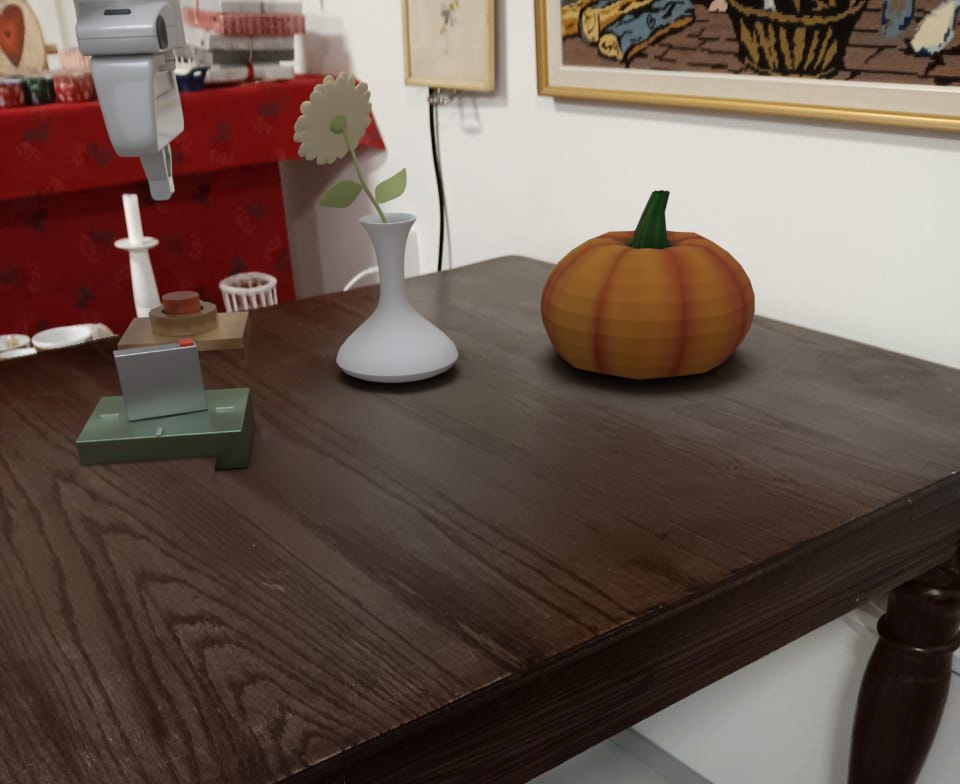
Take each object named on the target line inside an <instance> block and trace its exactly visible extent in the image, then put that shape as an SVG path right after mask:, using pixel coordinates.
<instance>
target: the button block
mask: <svg viewBox="0 0 960 784" xmlns="http://www.w3.org/2000/svg"><path fill="white" fill-rule="evenodd" d="M200 305H201V311H199V312H196V313H190V314H183V315H169V314H165V312H164V307H163V304H160V305H158V306H155V307H153V308H151V309H149V310H150V311H149V312H148V316H142V317H141V316H140V317H133V319H132V320H131V322H130V323H129V325H128V327H127V328H126V330H125V331H124V333H123V335H122V336H121V338H120V339H119V342H118V343H117V345H116V346H117V350H124V349H131V348H139V347H147V346H155V345H163V344H171V343H178V340H180V339H188V338H191V339H192V341H194V342H195V344H196V346H197V350H198V352H205V351H222V350H223V351H224V350H238V349H240V350H241V349H242V352H241V356H240V360H246V358H247V355H248V351H249V346H250V341H251V336H252V332H253V330H252V323H251V317H250V311H247V310H245V311H230V312H229V311H228V312H218V309H217V305H216V304H214V303H212V302H209V301H201V300H200Z"/></svg>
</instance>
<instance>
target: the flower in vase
mask: <svg viewBox="0 0 960 784" xmlns="http://www.w3.org/2000/svg"><path fill="white" fill-rule="evenodd" d="M356 83H357V81H356V75H355V73H350V74H349V73H348V72H347V71H345V70H343V71H341V72H340V73H339V74H338V76H337V77H336V78H335V79H334V77H333V76H332V75H331V74H328V75H326V76H325V77H324V78H323V80H322V83H319V84H316V85H315V86H314V87H313V91H312V92H311V93H310V95H309V100H305V101H303V102H302V103H301V104H300V107H299V111H300V113H301V114H302V115H300V116H299V117H297V119H296V122H295V123H294V125H293V129H294V134H293V137H292V139H293V141H294V142H295V143H298V144H299V143H301V144H300V145H299V147H298V150H297V154H298V156H299V157H300V158H301V157H302V158H304V157H305V160H306V161H314V160H315V159H316V165H322V166H324V165H326V164H328V165H332V164H333V163H334V162H336V160H337V159H338V160H339V159H340V160H341V159H343V158H344V157H345V156H346V154H347V153H348V152H350V155H351V157H352V160H353V163H354V167H355V170H356V173H357V177H358V180H359V182H360V183H359V182H357V181H354V180H352V179H347V178H345V179H341V180H339V181H337V182H336V183H334V184H332V185H331V186H330V187H329V188H328V189H327V190H326V191H325V193H323V195H322V197H321V199H320V201H319V203H318V206H320V207H326V208H327V207H328V208H335V209H345V208H348V207H349V206H351V205H352V204H353V203H354V202H355V201H356V199H357V198H358V197H359V195H360V194H361V192H362V189H363V190H364V192H365V193H366V195H367V197H368V198H369V200H370V202H371V203H372V204H373V206H374V208H375V209H376V211H377V213H372V214H367V215H363V216H361V217H359V218H358V221H359V223H360V224H361V225H362V227H363V228H364V229H365V231H366V233H367V234H368V236H369V238H370V239H369V240H370V241H371V243H372V246H373V249H374V250H373V251H374V253H375V257H376V262H377V267H378V276H379V301H378V304H377V307H376V308H375V310H374V311H373V313H372V314H370V315H369V317H368V318H367V319H366V320H365V321H364V322H363V323H361V324H360V325H359V326H358V327H357V328H356V329H355V330H354V331H353V332H352V333H351V334H350V335H349V336H348V337H347V338H346V340H345V341H344V342H343V343H342V345H341V346H340V347H339V349H338V351H337V357H336V359H335V360H336V364H337V366H338V367H339V368H340V369H341V370H342V371H343V372H344V373H345V374H346V375H349V376H351V377H354V378H355V379H360V380H363V381H367V382H372V383H383V384H398V383H399V384H402V383H410V382H412V383H413V382H418V381H422V380H426V379H429V378H433V377H435V376H439V375H440V374H442V373H444V372H446V371H448V370H449V369H451V368H453V366H454V364H455V363H456V362H457V360H458V357H459V352H458V349H457V347H456V344H455V342H454V341H453V340H452V339H451V338H450V337H449V336H448V335H447V334H446V333H444V332H443V331H442V330H441V329H439V327H437V326H436V325H435V324H433V323H432V322H431V321H429V320H428V319H426V318H425V317H423V316H422V315H421V314H420V313H419V312H417V311H416V310H415V308H414V307H413V306H412V305H411V303H410V301H409V299H408V294H407V291H406V283H405V258H406V257H405V254H406V246H407V241H408V238H409V233H410V232H411V230H412V227H413V226H414V224H415V222H416V221H417V219H418V218H417V216H416V215H415V214H412V213H407V212H383V210H382V209H381V207H380V205H379V204H385V203H388V202H390V201H392V200H396V199H398V198H399V197H401V196H402V195H403V194H404V192H405V190H406V188H407V182H408V181H407V179H408V178H407V168H406V167H404V168H402V169H401V170H400V171H398V172H397V173H395V174H394V175H392V176H391V177H389V178H387V179H385V180H383V181H381V182H380V183H378V184H377V185H376V186H375V188H374V195H375V196H374V195H373V194H372V193H371V191H370V189H369V188H368V185H367V184H366V181H365V180H364V177H363V174H362V171H361V167H360V164H359V161H358V158H357V154H356V151H355V150H356V149H357V147H358V146H359V143H360V141H359V140H360V139H362V138H363V137H364V136H365V133H366V129H367V128H368V127H370V125H371V123H372V118H371V117H370V114H371V110H372V107H373V104H372V102H371V101H370V98H371V95H372V93H371V91H370V90H369V85H368V83H367V82H364V81H360V82H359V83H358V84H357V85H356Z"/></svg>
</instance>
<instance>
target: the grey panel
mask: <svg viewBox="0 0 960 784" xmlns="http://www.w3.org/2000/svg"><path fill="white" fill-rule="evenodd" d="M112 354H113V357H114V363H115V367H116V371H117V377H118V380H119V385H120V390H121V393H122V394H121V395H122V396H123V399H124V403H125V407H126V412H127V416H128V419H129V421H133V420H140V419H146V418H153V417H160V416H166V415H173V414H180V413H187V412H193V411H200V410H207V409H208V406H207V400H206V395H205V390H206V389H205V385H204V384H205V383H204V378H203V374H202V367H201V362H200V357H199V351H198V350H197V346H196V344H195V342H194V341H192V339H191V338H188V339H180V340H178V343H171V344H163V345H155V346H147V347H139V348H131V349H124V350H118V349H116V350H113V351H112Z"/></svg>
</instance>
